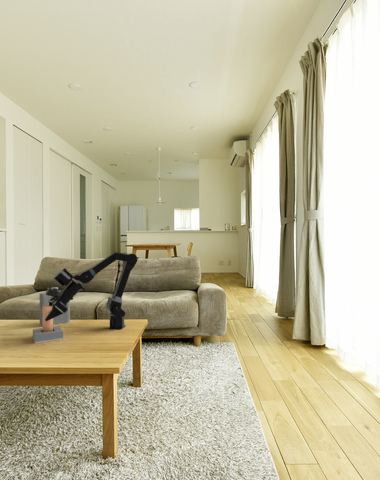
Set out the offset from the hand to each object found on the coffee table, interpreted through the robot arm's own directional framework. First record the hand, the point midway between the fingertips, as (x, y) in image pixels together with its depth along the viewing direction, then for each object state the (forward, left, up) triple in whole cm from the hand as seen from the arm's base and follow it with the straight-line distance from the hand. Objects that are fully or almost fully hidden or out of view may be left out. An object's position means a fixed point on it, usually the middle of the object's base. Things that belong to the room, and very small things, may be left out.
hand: (44, 318), depth 143 cm
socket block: (-1, -1, -9) cm, 9 cm away
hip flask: (+12, -26, -9) cm, 30 cm away
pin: (-1, -1, -9) cm, 9 cm away
